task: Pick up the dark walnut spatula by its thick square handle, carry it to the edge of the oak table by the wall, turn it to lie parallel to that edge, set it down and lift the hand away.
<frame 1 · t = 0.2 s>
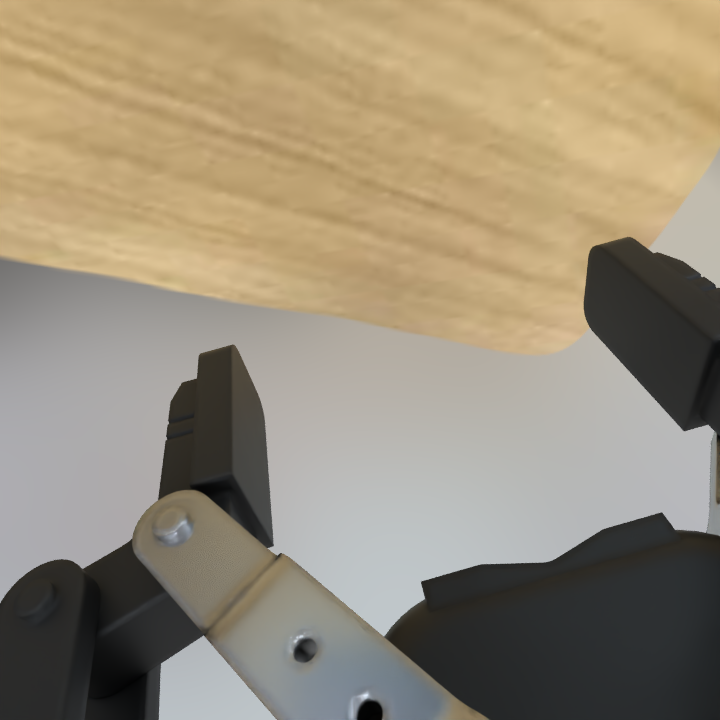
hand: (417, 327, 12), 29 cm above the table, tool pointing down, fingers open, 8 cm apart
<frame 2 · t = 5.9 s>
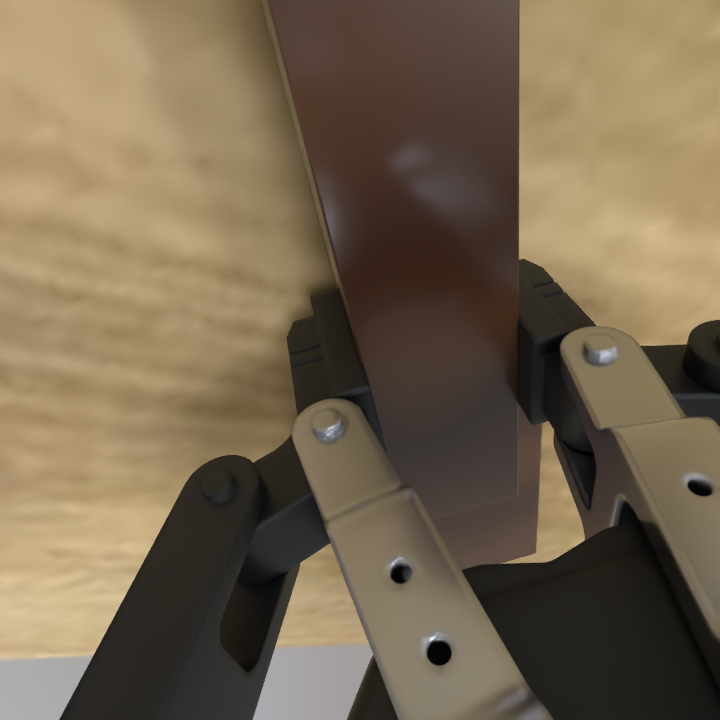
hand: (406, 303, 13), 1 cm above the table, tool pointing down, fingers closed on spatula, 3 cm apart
spatula: (400, 289, 13), on the table, touching gripper
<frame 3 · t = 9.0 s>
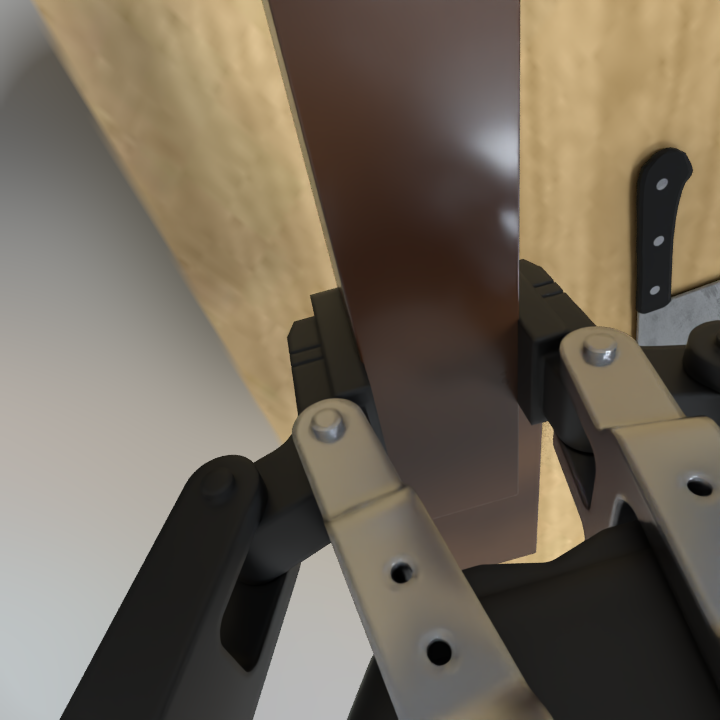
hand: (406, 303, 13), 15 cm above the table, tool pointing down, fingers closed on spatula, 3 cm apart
spatula: (400, 288, 13), point 15 cm above the table, touching gripper
cleaver: (685, 330, 37), on the table
when the fingers open (1 cm above the table, at t = 12.1 s): spatula stays where it is, on the table.
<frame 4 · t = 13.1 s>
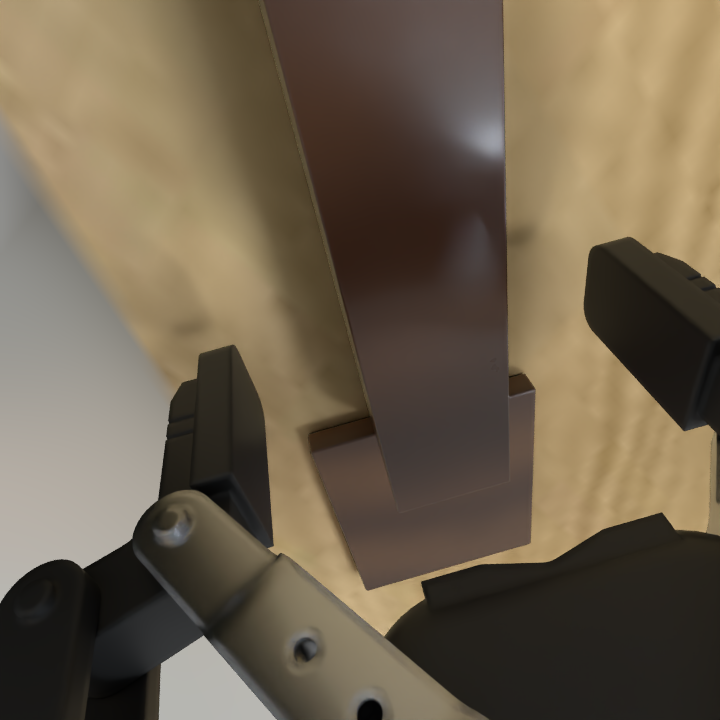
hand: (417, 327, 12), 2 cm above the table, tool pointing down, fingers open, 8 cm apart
spatula: (394, 280, 13), on the table
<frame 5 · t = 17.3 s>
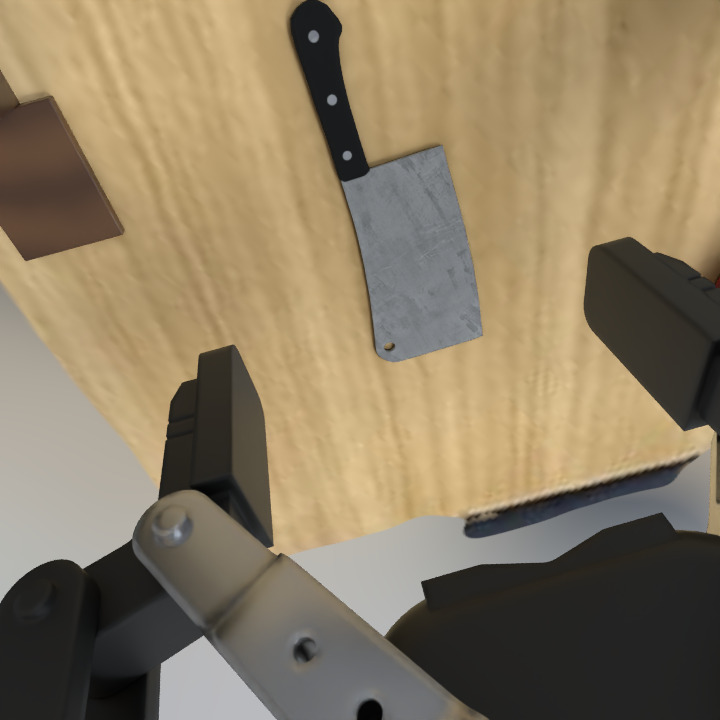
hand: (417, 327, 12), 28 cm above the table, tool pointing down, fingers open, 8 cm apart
cleaver: (401, 209, 40), on the table
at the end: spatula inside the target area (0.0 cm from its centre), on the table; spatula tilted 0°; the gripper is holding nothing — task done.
